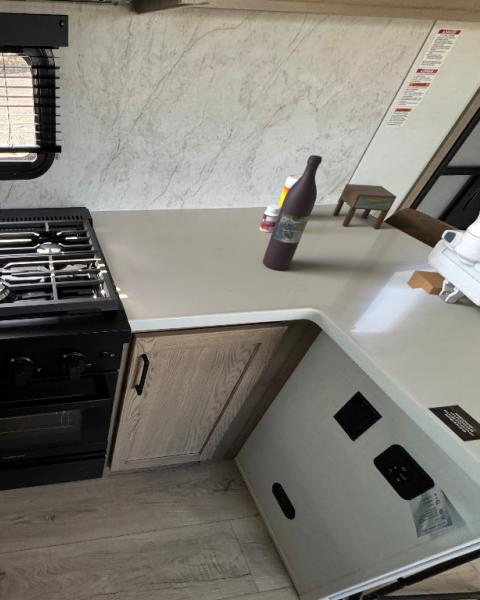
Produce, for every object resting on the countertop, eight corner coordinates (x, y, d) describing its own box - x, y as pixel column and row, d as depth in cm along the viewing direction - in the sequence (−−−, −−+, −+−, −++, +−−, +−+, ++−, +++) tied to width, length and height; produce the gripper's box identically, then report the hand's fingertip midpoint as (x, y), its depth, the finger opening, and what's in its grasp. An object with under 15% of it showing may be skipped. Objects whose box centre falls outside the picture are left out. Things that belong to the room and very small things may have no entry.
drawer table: (379, 230, 118) (397, 197, 112) (344, 227, 120) (359, 194, 114) (365, 216, 127) (381, 185, 121) (332, 214, 130) (346, 183, 123)
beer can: (285, 222, 124) (300, 180, 115) (270, 216, 128) (284, 175, 120) (295, 219, 126) (311, 177, 118) (280, 213, 131) (295, 173, 122)
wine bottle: (259, 266, 100) (297, 157, 82) (265, 256, 104) (302, 151, 87) (286, 273, 96) (331, 162, 79) (290, 263, 101) (334, 155, 83)
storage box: (447, 302, 85) (457, 289, 82) (423, 300, 86) (433, 287, 83) (428, 285, 91) (437, 272, 89) (406, 283, 92) (415, 270, 90)
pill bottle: (260, 225, 122) (267, 202, 117) (275, 228, 120) (283, 205, 115) (258, 230, 119) (265, 207, 114) (273, 233, 117) (281, 210, 112)
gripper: (543, 274, 66) (492, 329, 74) (471, 229, 82) (436, 278, 90) (503, 271, 67) (458, 325, 75) (440, 227, 83) (408, 276, 91)
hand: (445, 299), depth 82 cm, fingers closed
